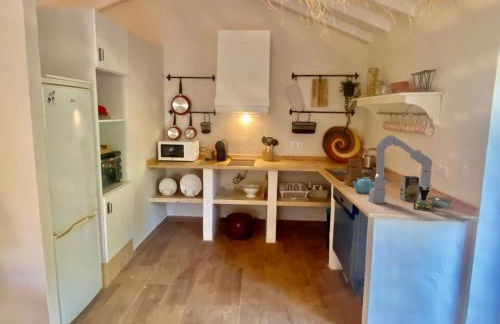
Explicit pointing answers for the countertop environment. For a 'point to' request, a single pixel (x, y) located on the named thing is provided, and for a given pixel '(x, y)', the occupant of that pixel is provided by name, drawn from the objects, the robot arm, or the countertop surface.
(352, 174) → the coffee package
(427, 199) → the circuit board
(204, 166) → the countertop surface
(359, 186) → the teapot
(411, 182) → the coffee box
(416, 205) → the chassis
